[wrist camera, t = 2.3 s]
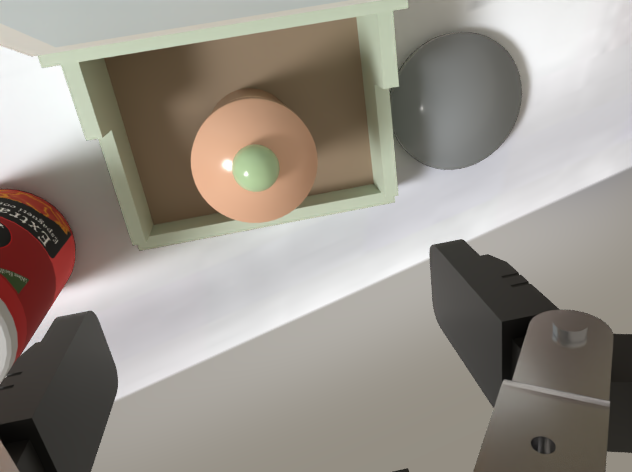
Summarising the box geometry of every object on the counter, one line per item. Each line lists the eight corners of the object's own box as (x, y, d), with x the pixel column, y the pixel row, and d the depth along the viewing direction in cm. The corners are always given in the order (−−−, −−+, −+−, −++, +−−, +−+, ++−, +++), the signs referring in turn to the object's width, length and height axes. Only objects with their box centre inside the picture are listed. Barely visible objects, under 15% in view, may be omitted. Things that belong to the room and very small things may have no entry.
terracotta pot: (190, 90, 30) (171, 119, 21) (291, 73, 30) (312, 94, 22) (213, 187, 32) (205, 248, 24) (307, 170, 33) (331, 223, 24)
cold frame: (86, 40, 29) (35, 48, 21) (365, -5, 30) (407, -12, 23) (146, 235, 34) (121, 295, 26) (384, 190, 35) (423, 236, 27)
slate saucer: (383, 44, 31) (386, 44, 30) (516, 21, 32) (522, 22, 31) (394, 176, 34) (398, 180, 34) (514, 154, 35) (520, 157, 34)
